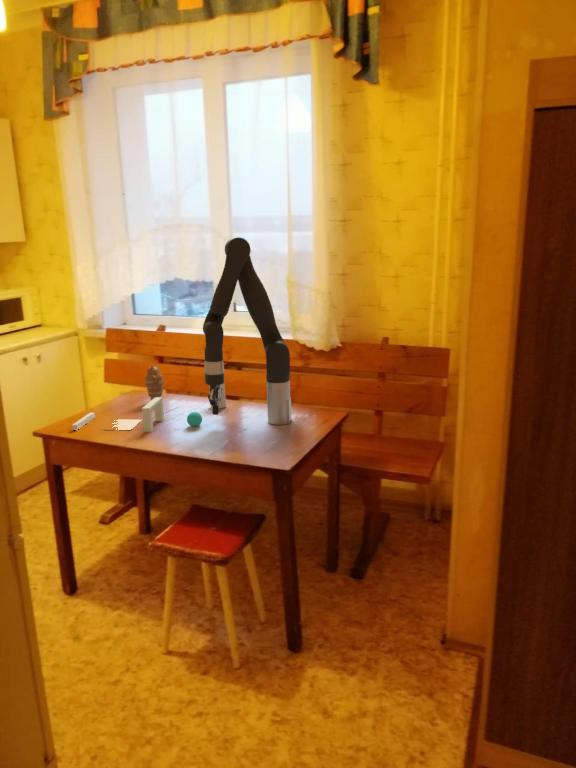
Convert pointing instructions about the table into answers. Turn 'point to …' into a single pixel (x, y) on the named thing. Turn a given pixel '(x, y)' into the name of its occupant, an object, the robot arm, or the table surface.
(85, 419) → the stopper
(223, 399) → the skincare box
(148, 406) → the bridge
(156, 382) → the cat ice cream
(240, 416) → the table surface
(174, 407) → the table surface
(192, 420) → the ball
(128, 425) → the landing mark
